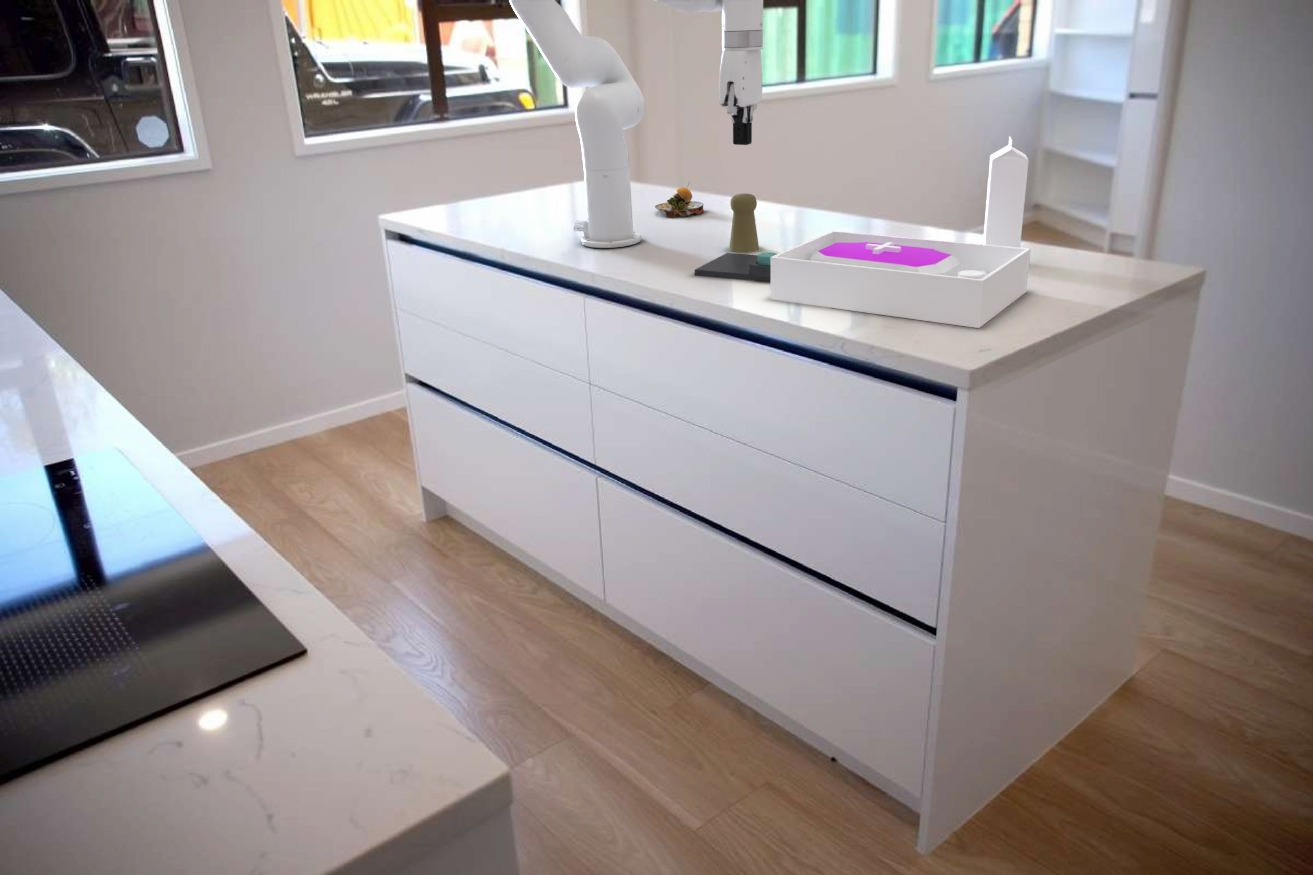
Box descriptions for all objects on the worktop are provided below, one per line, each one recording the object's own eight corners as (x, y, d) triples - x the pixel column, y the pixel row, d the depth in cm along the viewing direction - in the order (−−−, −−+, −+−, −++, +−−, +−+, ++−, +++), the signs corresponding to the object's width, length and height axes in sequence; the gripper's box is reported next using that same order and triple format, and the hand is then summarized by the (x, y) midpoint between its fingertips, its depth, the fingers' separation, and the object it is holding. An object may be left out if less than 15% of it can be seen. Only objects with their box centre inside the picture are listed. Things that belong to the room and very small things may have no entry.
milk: (982, 268, 178) (992, 141, 169) (981, 260, 183) (990, 136, 174) (1019, 269, 176) (1030, 140, 167) (1016, 260, 181) (1027, 135, 173)
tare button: (754, 265, 176) (754, 256, 176) (762, 261, 179) (762, 251, 179) (773, 267, 175) (773, 257, 174) (781, 262, 178) (781, 253, 177)
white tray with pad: (978, 328, 146) (983, 279, 143) (770, 299, 165) (770, 255, 162) (1026, 291, 162) (1030, 247, 160) (831, 269, 182) (832, 229, 179)
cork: (757, 253, 196) (757, 196, 192) (727, 253, 198) (726, 197, 193) (760, 246, 202) (760, 191, 197) (731, 246, 203) (730, 191, 199)
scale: (692, 277, 182) (692, 260, 180) (727, 258, 193) (726, 243, 192) (777, 284, 174) (777, 267, 173) (808, 265, 186) (808, 249, 184)
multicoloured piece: (673, 206, 246) (672, 176, 243) (713, 210, 240) (713, 178, 237) (644, 215, 237) (643, 183, 235) (685, 219, 231) (684, 186, 228)
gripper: (741, 39, 191) (741, 138, 199) (705, 44, 179) (707, 149, 187) (777, 39, 188) (776, 140, 195) (743, 43, 176) (743, 150, 183)
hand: (742, 144), depth 191 cm, fingers closed
